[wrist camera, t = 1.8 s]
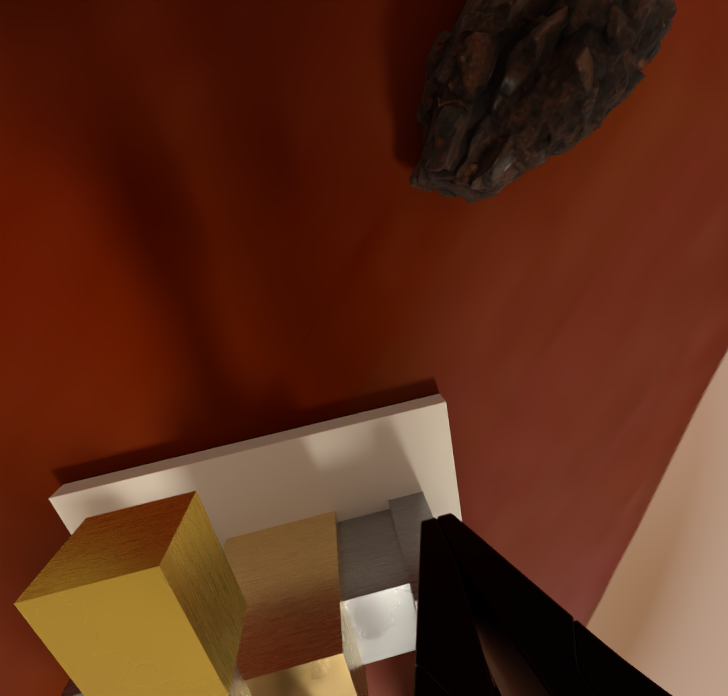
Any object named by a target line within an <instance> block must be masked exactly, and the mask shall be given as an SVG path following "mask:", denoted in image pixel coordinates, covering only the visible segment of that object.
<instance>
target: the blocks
mask: <svg viewBox="0 0 728 696" xmlns="http://www.w3.org/2000/svg"><path fill="white" fill-rule="evenodd" d="M388 501H389V506H390V509H387V510H383V511H379V512H375V513H371V514H367V515H364V516H360V517H356V518H352V519H348V520H344V521H340V522H338V520H337V517H336V513H335V511H333V512H329V513H325V514H321V515H317V516H314V517H310V518H306V519H302V520H298V521H294V522H290V523H286V524H282V525H279V526H275V527H271V528H267V529H263V530H259V531H255V532H251V533H247V534H244V535H240V536H236V537H232V538H228V539H226V542H225V545H224V549H223V551H224V553H225V556H226V558H227V560H228V562H229V565H230V567H231V569H232V571H233V574H234V576H235V578H236V580H237V583H238V585H239V587H240V589H241V592H242V594H243V596H244V598H245V601H246V603H247V608H246V614H245V619H244V624H243V629H242V634H241V639H240V644H239V649H238V654H237V659H236V665H237V667H238V669H239V671H240V673H241V675H242V677H243V679H244V681H245V683H246V685H247V687H248V689H249V691H250V693H251V695H252V696H368V686H367V677H366V668H365V664H368V663H371V662H375V661H378V660H382V659H385V658H389V657H392V656H396V655H399V654H403V653H406V652H410V651H413V650H415V648H416V624H417V600H418V576H419V552H420V528H421V521H422V520H425V519H429V518H433V515H432V513H431V510H430V508H429V505H428V503H427V501H426V498H425V496H424V493H423V491H422V492H419V493H415V494H411V495H407V496H403V497H399V498H395V499H391V500H388ZM61 696H84V695H83V694H82V692H81V691H80V690H79V688H78V687H77V686H76V684H75V683H74V682H73V681H72V679H71V678H70V680H69V682H68V684H67V685H66V687H65V689H64V691H63V692H62V694H61Z"/></svg>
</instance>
